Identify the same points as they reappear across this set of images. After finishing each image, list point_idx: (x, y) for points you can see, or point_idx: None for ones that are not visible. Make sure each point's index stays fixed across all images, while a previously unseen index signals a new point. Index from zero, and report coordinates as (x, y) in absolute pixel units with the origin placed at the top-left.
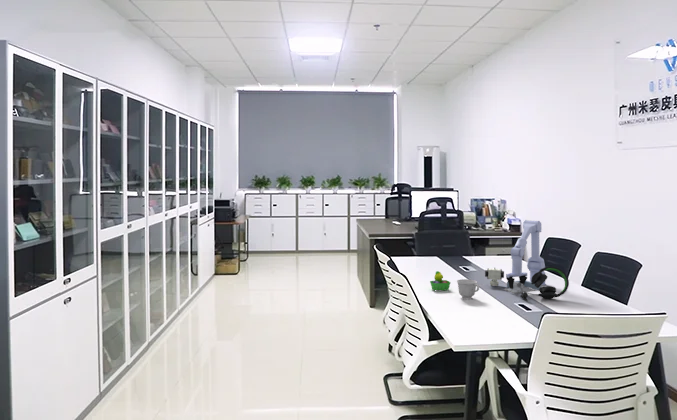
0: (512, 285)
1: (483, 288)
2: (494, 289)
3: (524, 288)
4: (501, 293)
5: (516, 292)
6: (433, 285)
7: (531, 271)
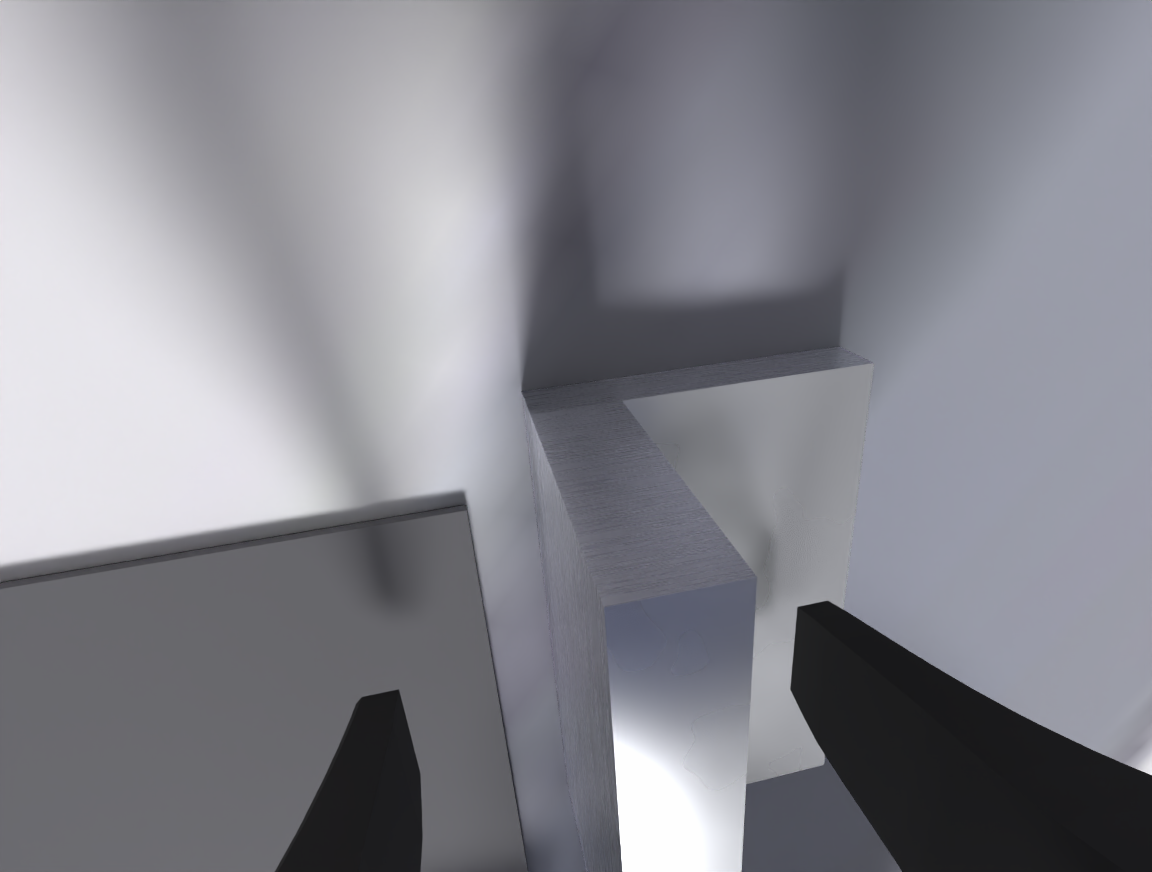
0: (927, 671)
1: None
2: None
3: (156, 858)
4: (1091, 473)
5: (803, 368)
6: None
7: None
